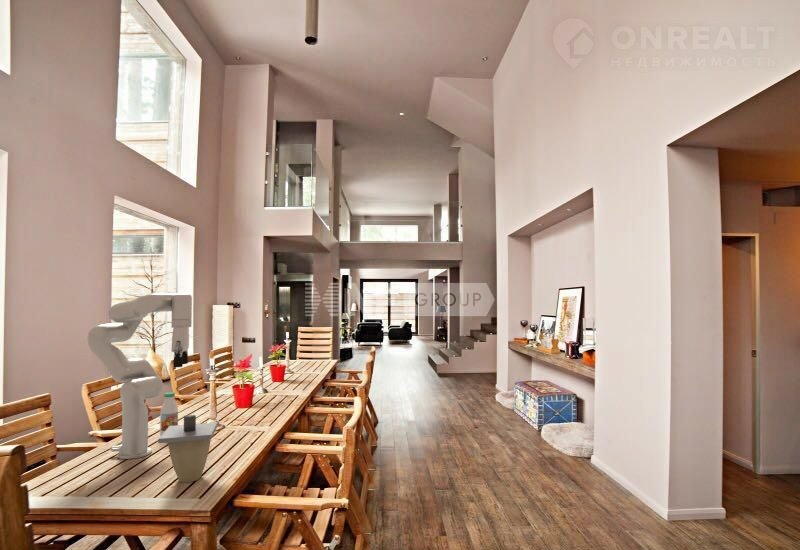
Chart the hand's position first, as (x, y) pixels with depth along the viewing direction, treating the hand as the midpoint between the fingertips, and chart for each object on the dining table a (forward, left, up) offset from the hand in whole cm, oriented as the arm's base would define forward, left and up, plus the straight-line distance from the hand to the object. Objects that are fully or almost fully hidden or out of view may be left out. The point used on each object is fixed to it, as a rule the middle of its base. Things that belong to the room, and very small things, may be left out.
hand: (180, 365), depth 192 cm
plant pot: (+8, -23, -38) cm, 45 cm away
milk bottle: (-13, +40, -38) cm, 57 cm away
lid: (+8, -23, -22) cm, 33 cm away
